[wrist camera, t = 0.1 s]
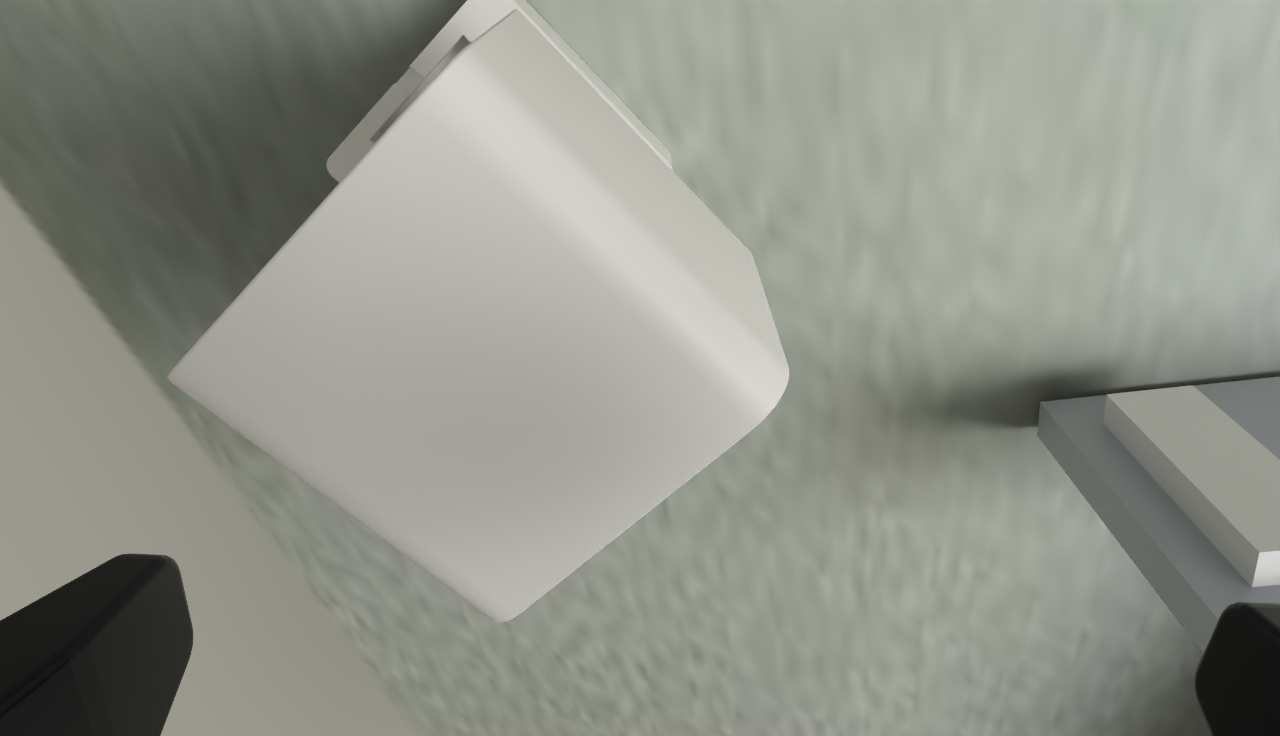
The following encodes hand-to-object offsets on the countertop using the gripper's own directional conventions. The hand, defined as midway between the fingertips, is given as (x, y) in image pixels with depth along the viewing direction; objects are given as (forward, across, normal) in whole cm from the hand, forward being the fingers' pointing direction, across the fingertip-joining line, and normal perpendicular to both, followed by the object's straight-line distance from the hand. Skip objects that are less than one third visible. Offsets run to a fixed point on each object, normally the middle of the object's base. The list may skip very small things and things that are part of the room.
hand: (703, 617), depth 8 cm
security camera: (+15, +3, 0) cm, 15 cm away
